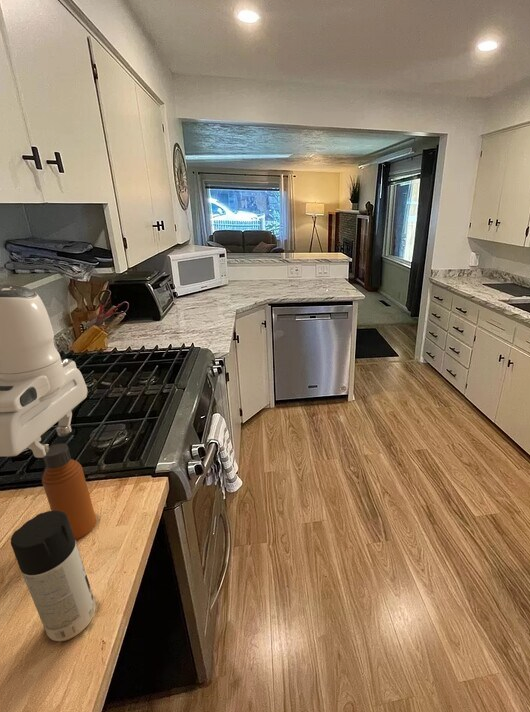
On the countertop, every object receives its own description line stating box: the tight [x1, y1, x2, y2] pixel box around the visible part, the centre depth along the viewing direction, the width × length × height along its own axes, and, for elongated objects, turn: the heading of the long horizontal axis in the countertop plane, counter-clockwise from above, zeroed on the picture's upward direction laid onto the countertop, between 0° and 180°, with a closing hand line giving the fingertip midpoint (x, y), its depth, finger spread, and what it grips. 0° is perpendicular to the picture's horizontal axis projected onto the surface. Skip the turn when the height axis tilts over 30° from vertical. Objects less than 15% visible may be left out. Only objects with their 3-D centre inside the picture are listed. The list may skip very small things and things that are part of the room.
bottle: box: [41, 458, 97, 541], centre depth 71 cm, size 6×6×19 cm
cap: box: [42, 442, 72, 469], centre depth 68 cm, size 4×4×3 cm
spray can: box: [10, 510, 96, 642], centre depth 54 cm, size 7×7×20 cm
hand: (54, 444), depth 67 cm, fingers open, 5 cm apart
